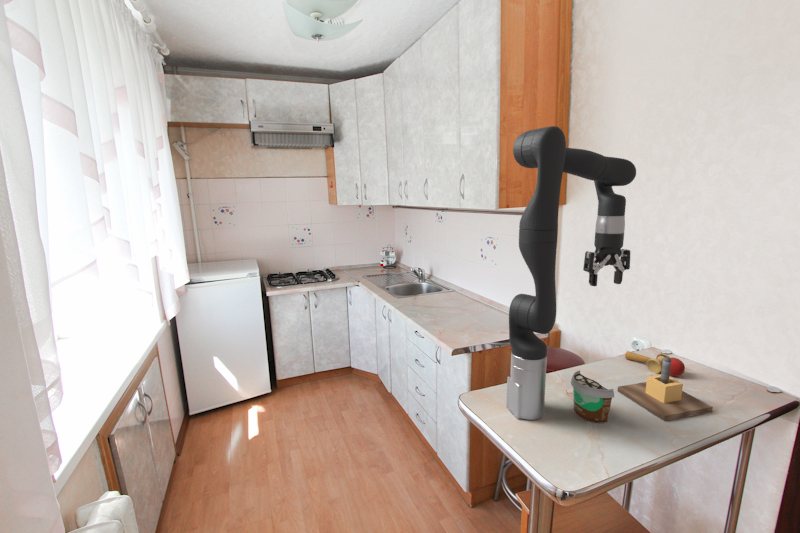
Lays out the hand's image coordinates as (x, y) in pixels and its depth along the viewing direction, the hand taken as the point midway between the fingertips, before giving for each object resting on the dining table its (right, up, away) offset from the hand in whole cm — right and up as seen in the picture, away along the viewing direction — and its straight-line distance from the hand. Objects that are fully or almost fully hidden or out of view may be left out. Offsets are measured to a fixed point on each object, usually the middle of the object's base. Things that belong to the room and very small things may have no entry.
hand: (605, 284), depth 115 cm
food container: (-12, -35, -11) cm, 39 cm away
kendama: (+24, -30, +15) cm, 41 cm away
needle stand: (+14, -33, -5) cm, 36 cm away
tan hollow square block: (+14, -32, -5) cm, 35 cm away
